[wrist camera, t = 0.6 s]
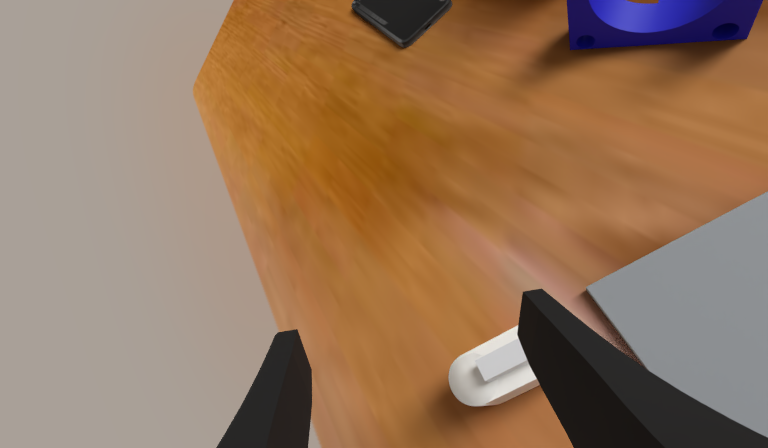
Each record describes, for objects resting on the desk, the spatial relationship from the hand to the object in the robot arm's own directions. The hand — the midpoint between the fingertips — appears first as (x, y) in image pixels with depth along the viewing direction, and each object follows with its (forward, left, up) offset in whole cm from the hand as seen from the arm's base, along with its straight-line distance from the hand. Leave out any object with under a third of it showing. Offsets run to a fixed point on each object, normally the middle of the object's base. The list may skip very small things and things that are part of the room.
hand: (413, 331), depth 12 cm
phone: (+44, -10, -18) cm, 49 cm away
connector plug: (0, -1, -18) cm, 18 cm away
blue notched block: (+19, -24, -18) cm, 36 cm away
